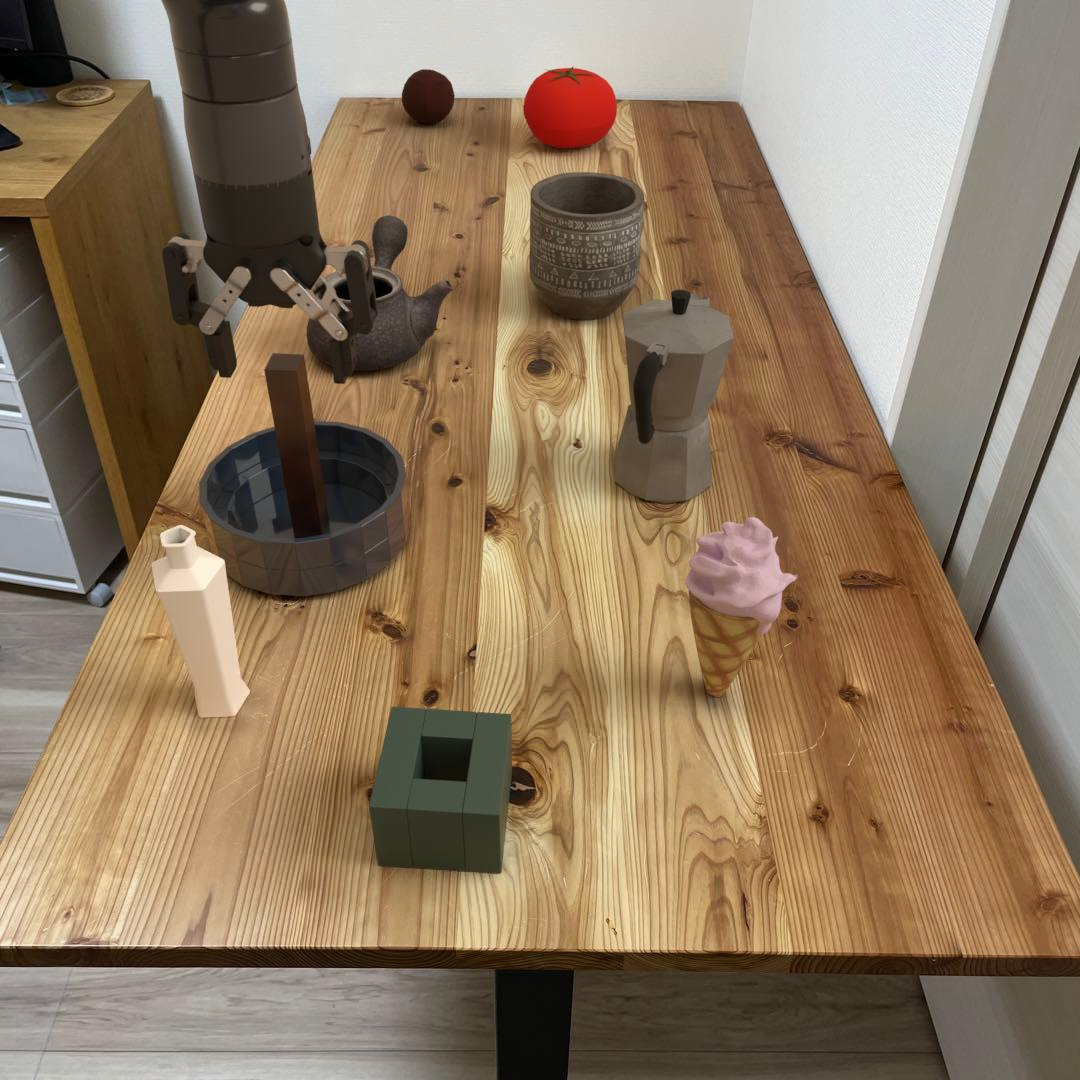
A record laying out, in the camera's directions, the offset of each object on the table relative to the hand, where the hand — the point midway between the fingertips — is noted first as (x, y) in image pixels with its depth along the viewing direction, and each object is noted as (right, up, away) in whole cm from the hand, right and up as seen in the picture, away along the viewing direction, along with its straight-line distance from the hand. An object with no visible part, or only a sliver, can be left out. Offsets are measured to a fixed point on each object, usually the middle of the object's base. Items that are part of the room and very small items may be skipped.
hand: (285, 375), depth 79 cm
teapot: (+2, +10, +36) cm, 37 cm away
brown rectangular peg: (0, -11, +10) cm, 15 cm away
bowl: (0, -12, +10) cm, 16 cm away
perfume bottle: (-3, -24, -4) cm, 24 cm away
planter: (+24, +15, +42) cm, 50 cm away
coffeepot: (+30, -7, +16) cm, 34 cm away
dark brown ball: (+2, +53, +87) cm, 101 cm away
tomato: (+23, +47, +80) cm, 96 cm away
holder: (+13, -30, -11) cm, 35 cm away
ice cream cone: (+32, -23, -3) cm, 40 cm away
